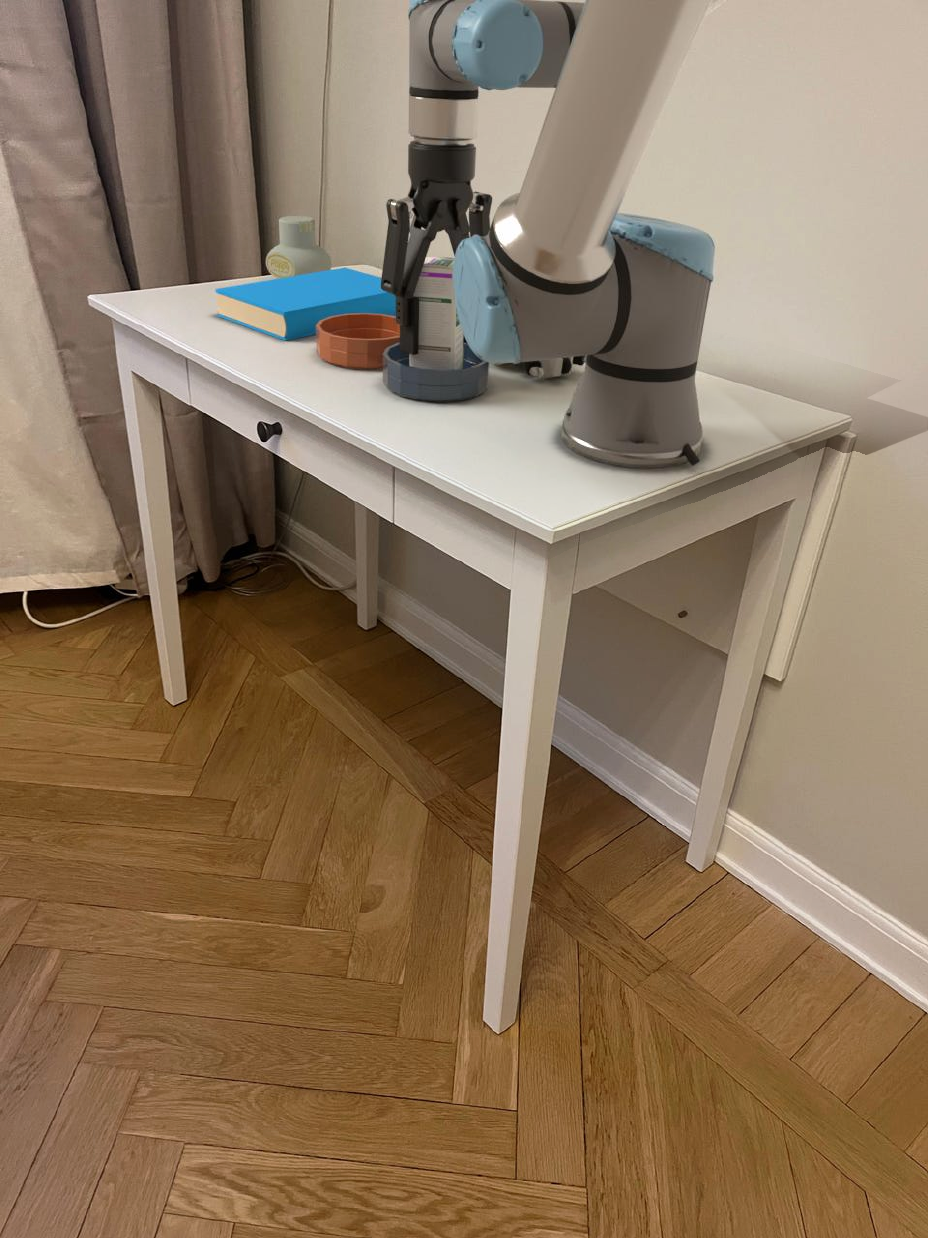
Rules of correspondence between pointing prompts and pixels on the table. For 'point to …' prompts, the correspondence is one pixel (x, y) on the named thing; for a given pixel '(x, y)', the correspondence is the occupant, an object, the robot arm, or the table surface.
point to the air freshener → (297, 249)
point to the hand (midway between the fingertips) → (436, 345)
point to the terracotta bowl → (356, 339)
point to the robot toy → (551, 366)
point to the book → (303, 301)
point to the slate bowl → (434, 377)
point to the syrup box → (438, 318)
